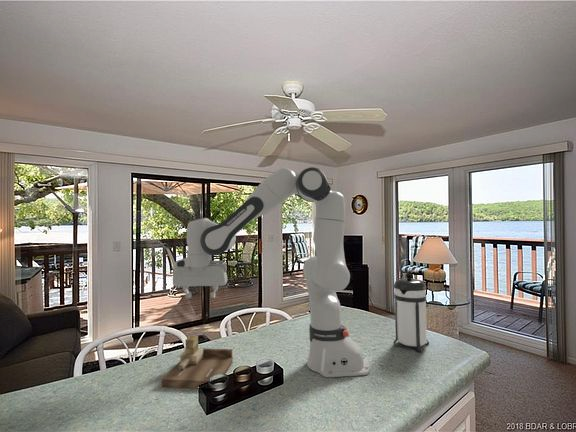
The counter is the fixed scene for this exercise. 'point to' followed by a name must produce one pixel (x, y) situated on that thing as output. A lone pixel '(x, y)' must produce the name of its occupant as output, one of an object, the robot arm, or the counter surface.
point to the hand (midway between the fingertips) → (200, 297)
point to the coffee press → (410, 312)
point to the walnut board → (199, 369)
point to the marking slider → (191, 352)
